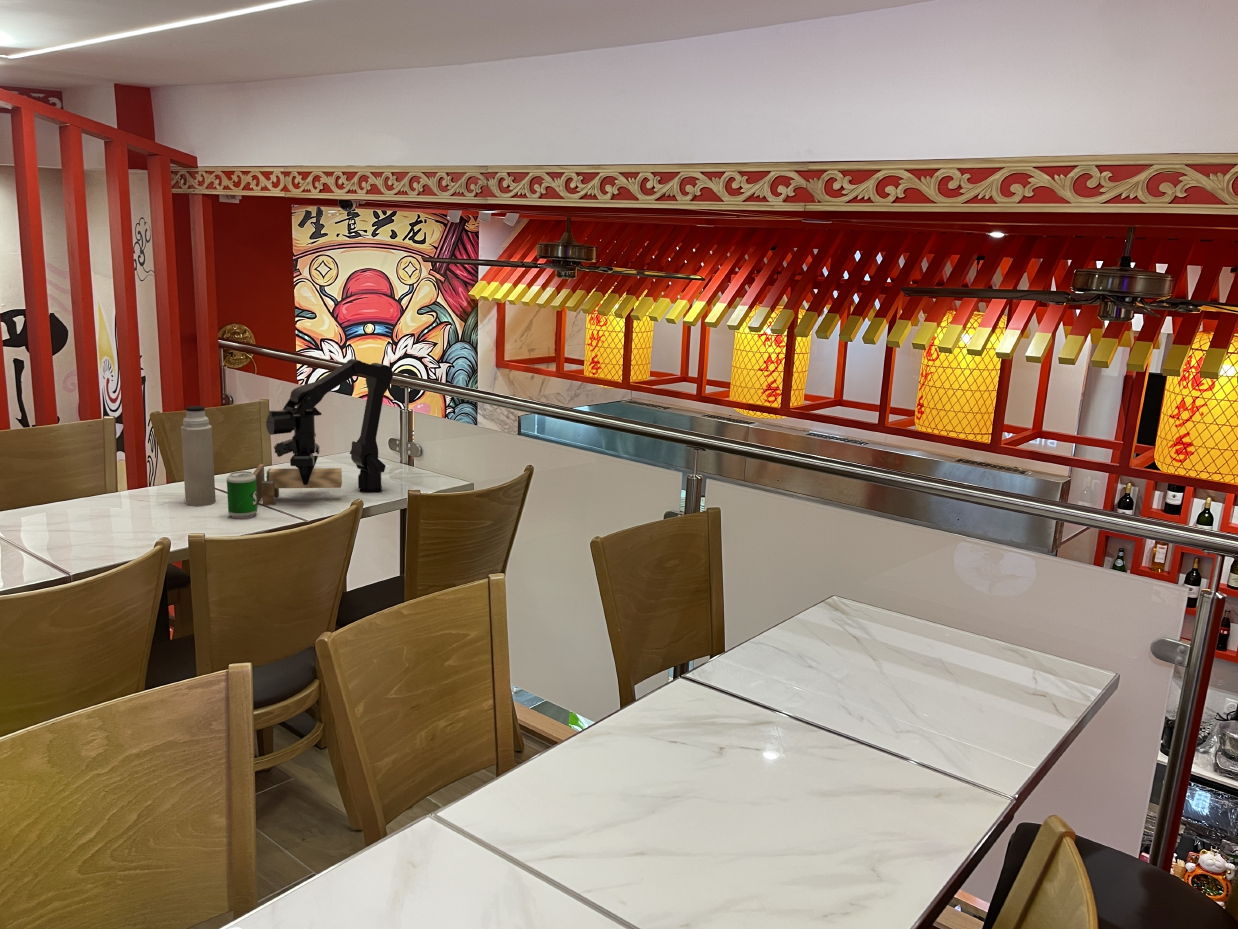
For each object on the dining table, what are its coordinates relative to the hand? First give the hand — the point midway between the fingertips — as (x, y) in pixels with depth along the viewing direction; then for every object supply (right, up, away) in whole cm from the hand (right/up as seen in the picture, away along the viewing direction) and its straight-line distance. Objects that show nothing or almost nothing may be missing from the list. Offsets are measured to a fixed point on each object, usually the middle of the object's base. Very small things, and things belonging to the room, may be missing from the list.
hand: (306, 482), depth 280 cm
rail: (0, -1, 0) cm, 1 cm away
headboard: (-11, -5, -1) cm, 12 cm away
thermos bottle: (-28, -6, -7) cm, 30 cm away
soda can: (-12, -9, -17) cm, 23 cm away
